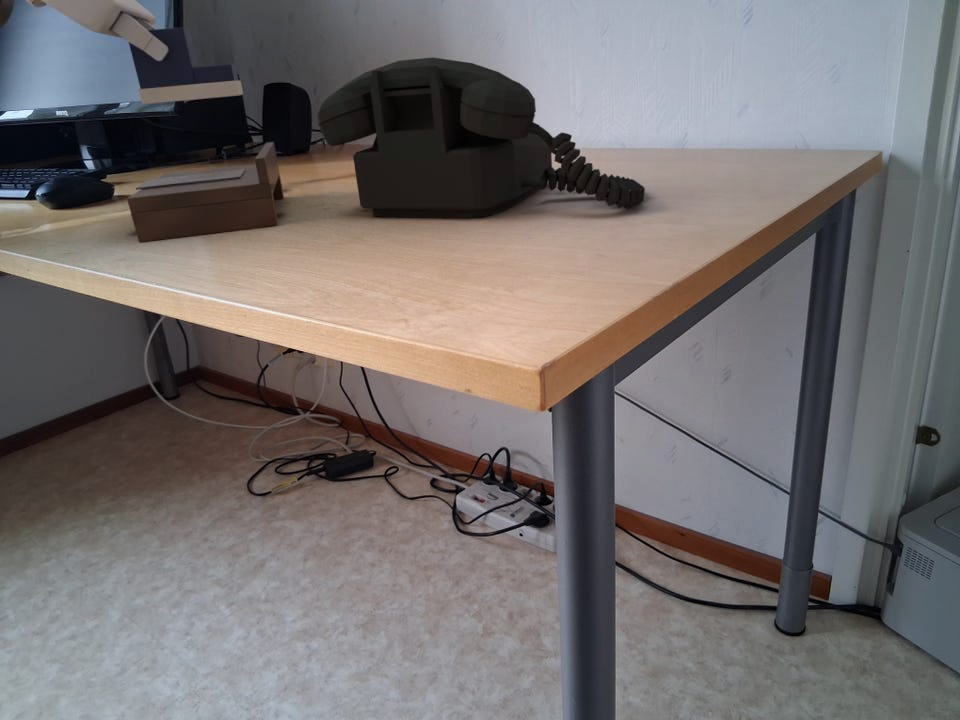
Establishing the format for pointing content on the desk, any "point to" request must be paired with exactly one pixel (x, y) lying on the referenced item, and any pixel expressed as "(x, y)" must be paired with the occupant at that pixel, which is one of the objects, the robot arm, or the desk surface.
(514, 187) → the rotary telephone
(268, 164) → the shoe shelf
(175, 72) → the trainer
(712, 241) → the desk surface
